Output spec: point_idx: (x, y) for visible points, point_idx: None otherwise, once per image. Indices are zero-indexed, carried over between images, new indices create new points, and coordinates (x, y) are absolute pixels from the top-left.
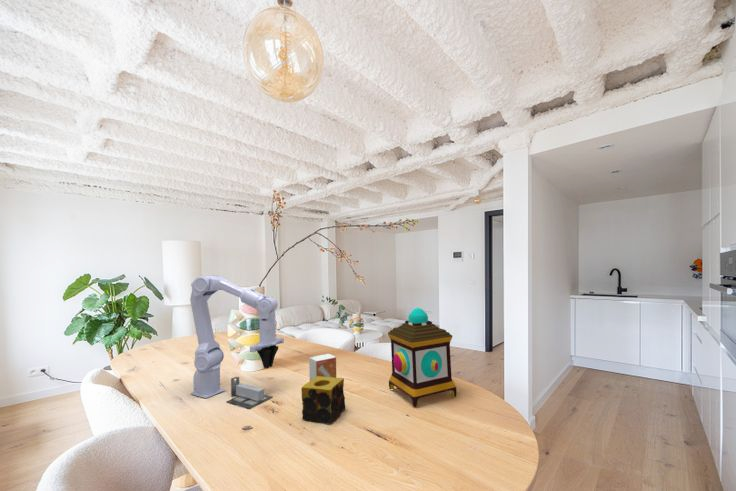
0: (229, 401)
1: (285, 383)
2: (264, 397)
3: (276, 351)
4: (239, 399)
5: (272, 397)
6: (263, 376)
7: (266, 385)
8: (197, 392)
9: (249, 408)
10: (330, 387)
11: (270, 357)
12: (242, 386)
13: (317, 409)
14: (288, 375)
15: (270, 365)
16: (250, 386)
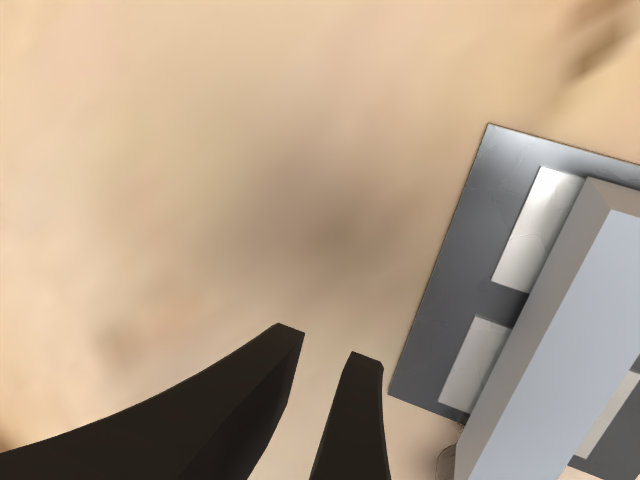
0: (628, 466)
1: (161, 177)
2: (531, 197)
3: (3, 467)
4: None
5: (491, 125)
6: (113, 409)
7: (243, 319)
8: None
9: None
10: None
11: (210, 474)
12: (537, 476)
13: None
14: (26, 237)
15: (293, 357)
16: (534, 401)
